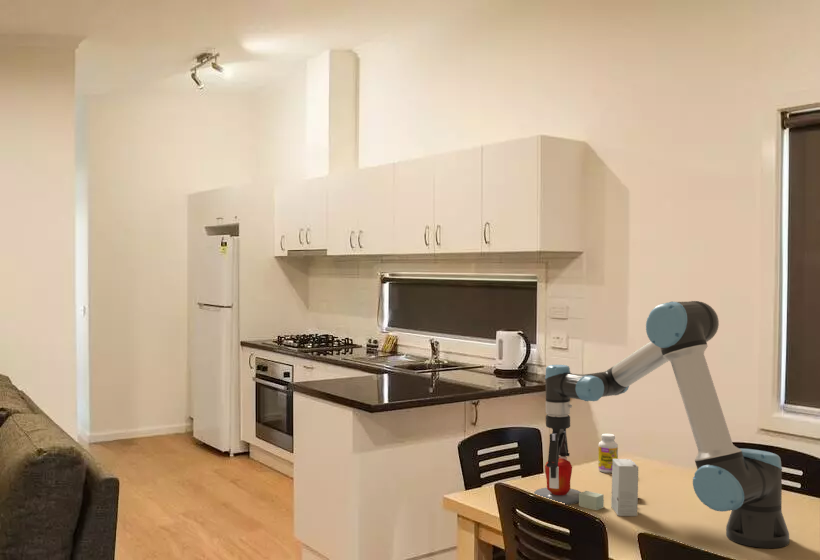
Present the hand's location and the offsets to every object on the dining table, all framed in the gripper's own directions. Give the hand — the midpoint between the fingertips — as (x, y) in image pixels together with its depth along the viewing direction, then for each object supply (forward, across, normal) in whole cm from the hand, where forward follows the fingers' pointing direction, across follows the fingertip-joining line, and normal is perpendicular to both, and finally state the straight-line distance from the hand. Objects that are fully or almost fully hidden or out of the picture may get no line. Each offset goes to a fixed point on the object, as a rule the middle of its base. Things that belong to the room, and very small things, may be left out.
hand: (558, 482), depth 241 cm
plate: (+5, 0, 0) cm, 5 cm away
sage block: (+5, -6, -11) cm, 13 cm away
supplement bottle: (+5, +38, -10) cm, 40 cm away
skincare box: (+5, -8, -21) cm, 23 cm away
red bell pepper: (+4, 0, 0) cm, 4 cm away
